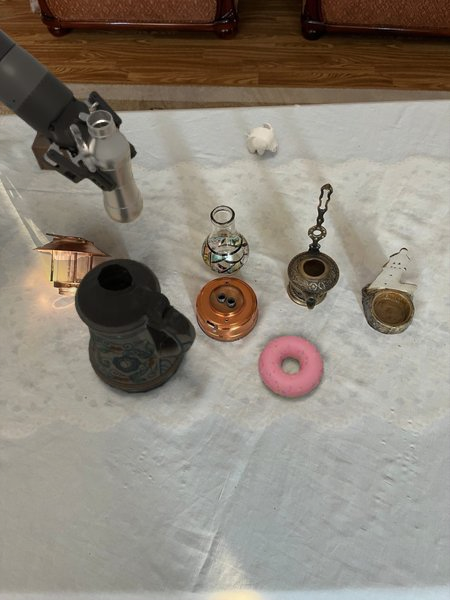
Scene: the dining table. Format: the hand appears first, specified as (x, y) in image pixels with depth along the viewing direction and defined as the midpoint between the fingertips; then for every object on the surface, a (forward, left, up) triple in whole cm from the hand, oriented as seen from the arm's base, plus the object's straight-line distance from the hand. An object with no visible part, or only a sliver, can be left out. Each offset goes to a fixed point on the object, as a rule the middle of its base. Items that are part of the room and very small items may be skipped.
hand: (123, 172), depth 79 cm
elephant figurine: (+19, +33, -26) cm, 46 cm away
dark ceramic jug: (+3, -18, -26) cm, 32 cm away
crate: (-22, +27, -26) cm, 43 cm away
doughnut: (+28, -19, -26) cm, 43 cm away
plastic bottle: (-2, +1, -11) cm, 11 cm away
